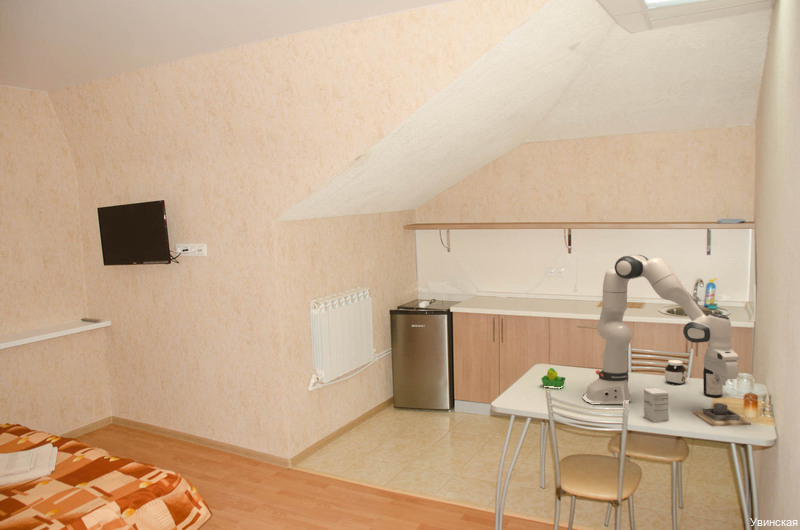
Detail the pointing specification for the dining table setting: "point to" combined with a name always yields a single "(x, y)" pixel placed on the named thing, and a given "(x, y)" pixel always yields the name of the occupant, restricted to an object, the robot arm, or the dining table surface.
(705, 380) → the wine bottle
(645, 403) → the supplement box
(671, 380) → the spread jar
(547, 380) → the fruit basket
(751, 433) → the dining table surface
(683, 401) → the dining table surface
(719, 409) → the dark grey cylinder
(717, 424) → the holder board
